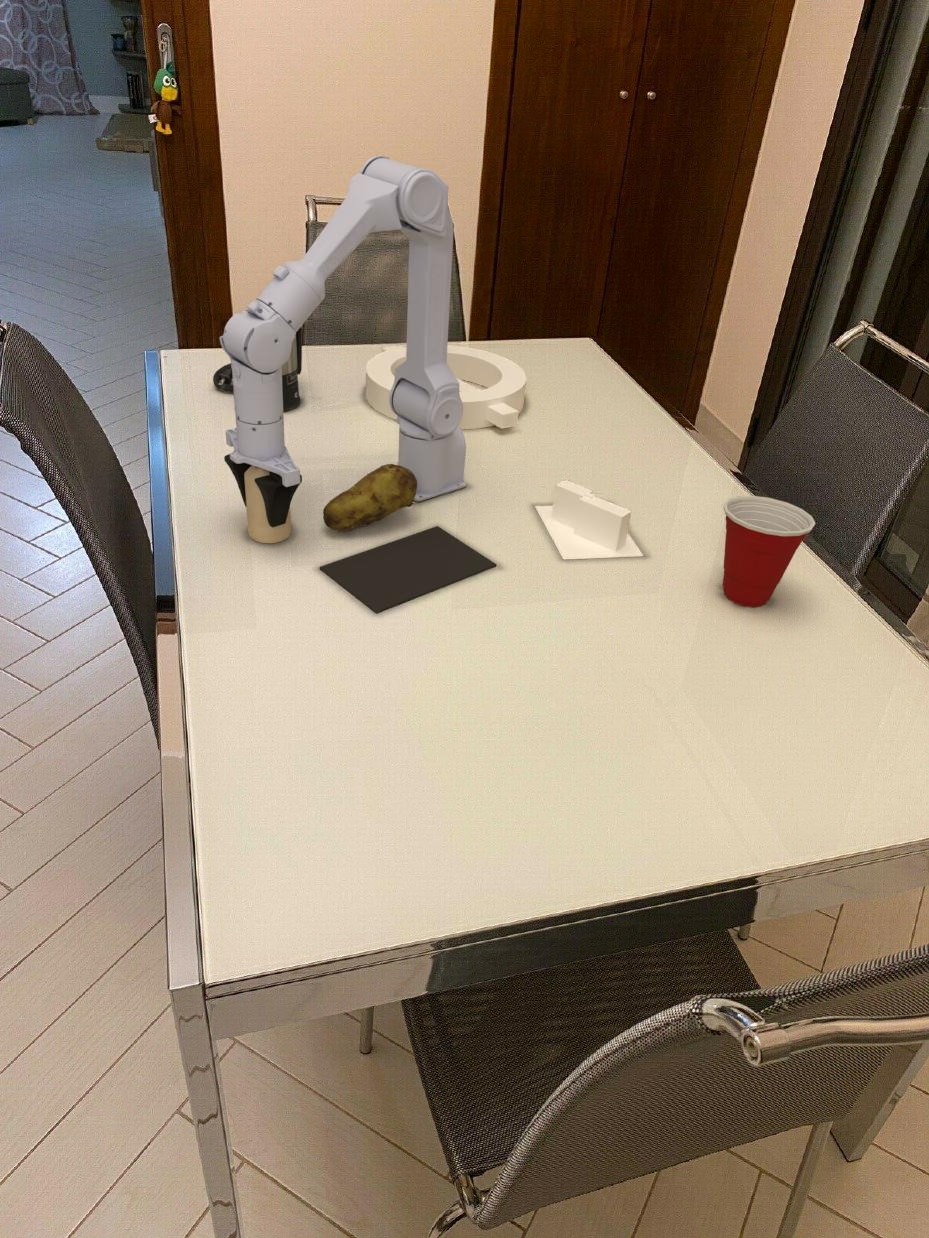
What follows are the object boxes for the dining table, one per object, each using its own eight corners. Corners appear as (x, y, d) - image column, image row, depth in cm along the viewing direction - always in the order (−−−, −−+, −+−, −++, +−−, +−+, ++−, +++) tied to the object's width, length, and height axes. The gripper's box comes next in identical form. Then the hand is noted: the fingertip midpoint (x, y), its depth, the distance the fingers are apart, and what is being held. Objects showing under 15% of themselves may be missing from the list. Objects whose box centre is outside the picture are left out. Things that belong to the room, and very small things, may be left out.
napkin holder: (645, 556, 125) (652, 518, 122) (563, 560, 123) (569, 521, 120) (607, 503, 137) (614, 467, 134) (533, 506, 135) (537, 470, 132)
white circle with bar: (383, 362, 179) (384, 337, 177) (529, 379, 177) (532, 354, 175) (349, 418, 156) (349, 390, 154) (515, 438, 154) (518, 410, 152)
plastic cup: (791, 583, 122) (817, 501, 115) (787, 627, 114) (815, 540, 107) (707, 564, 125) (728, 483, 118) (697, 605, 116) (719, 520, 109)
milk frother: (296, 415, 156) (293, 326, 147) (200, 408, 155) (191, 318, 147) (308, 384, 167) (306, 300, 159) (219, 378, 167) (212, 293, 158)
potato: (318, 510, 129) (318, 457, 125) (411, 507, 132) (413, 454, 128) (324, 541, 123) (324, 485, 118) (421, 536, 125) (424, 482, 121)
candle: (282, 546, 121) (279, 476, 115) (241, 539, 121) (236, 469, 116) (297, 526, 125) (294, 458, 120) (257, 520, 126) (253, 451, 120)
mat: (437, 527, 128) (437, 525, 128) (496, 566, 121) (496, 564, 120) (319, 568, 117) (319, 566, 117) (376, 613, 110) (376, 611, 110)
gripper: (200, 402, 116) (209, 500, 123) (261, 444, 107) (267, 547, 115) (251, 391, 120) (257, 487, 127) (314, 431, 111) (316, 531, 119)
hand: (265, 514), depth 121 cm, fingers closed on candle, 5 cm apart
